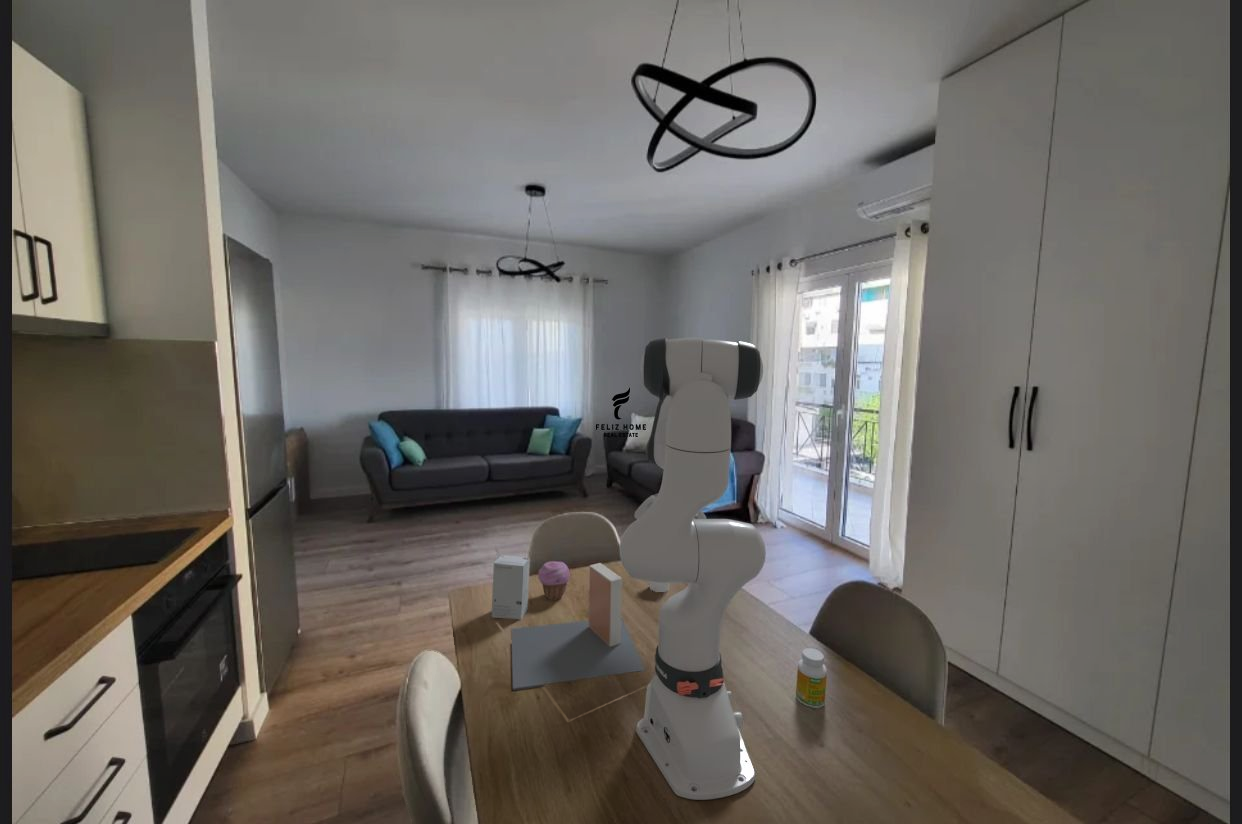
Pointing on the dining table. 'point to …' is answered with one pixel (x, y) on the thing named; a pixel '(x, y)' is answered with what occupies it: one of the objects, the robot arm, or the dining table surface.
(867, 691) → the dining table surface
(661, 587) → the grey white cylinder
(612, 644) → the plain white box
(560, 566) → the cupcake
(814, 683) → the supplement bottle
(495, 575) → the skincare box
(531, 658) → the slate mat
